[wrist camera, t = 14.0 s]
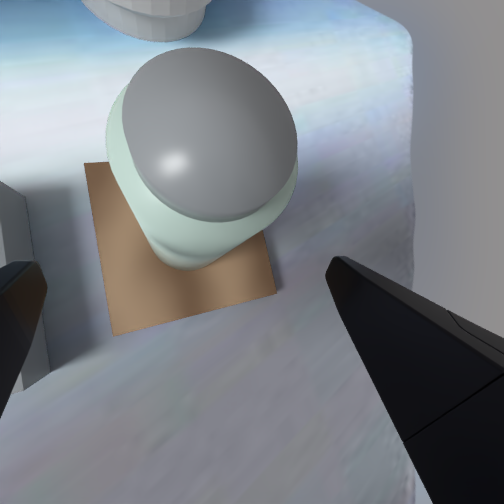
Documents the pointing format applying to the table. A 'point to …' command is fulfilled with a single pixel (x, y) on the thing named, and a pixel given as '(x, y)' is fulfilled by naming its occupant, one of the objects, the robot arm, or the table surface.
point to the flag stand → (151, 17)
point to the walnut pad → (164, 266)
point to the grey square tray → (20, 248)
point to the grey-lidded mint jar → (201, 153)
